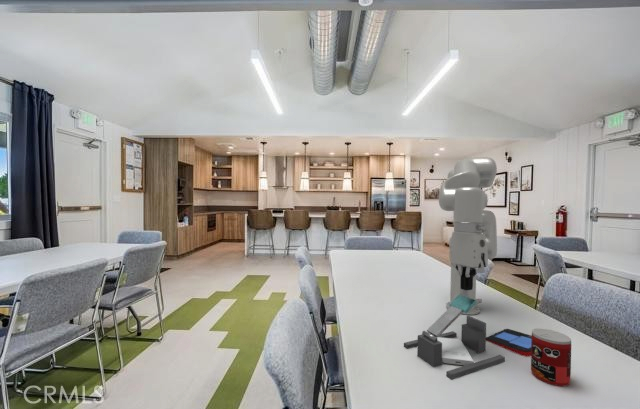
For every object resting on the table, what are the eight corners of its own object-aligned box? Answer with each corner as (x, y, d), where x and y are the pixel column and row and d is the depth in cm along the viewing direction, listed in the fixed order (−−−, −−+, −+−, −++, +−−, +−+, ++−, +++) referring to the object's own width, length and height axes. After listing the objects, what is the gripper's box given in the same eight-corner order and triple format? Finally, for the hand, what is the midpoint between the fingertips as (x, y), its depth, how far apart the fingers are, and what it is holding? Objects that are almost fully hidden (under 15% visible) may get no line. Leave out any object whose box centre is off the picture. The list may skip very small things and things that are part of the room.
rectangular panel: (460, 297, 89) (459, 294, 88) (476, 303, 84) (475, 299, 83) (421, 334, 82) (420, 331, 82) (436, 343, 77) (435, 340, 77)
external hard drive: (461, 344, 89) (474, 366, 77) (433, 341, 90) (442, 362, 78) (461, 339, 89) (474, 360, 77) (433, 336, 90) (442, 357, 78)
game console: (506, 331, 100) (506, 325, 100) (549, 347, 89) (550, 340, 89) (483, 341, 93) (483, 334, 93) (527, 360, 82) (528, 352, 82)
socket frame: (452, 334, 96) (453, 309, 96) (504, 361, 80) (505, 331, 80) (403, 346, 87) (404, 318, 87) (451, 379, 71) (451, 345, 71)
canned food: (523, 369, 76) (524, 328, 76) (551, 368, 77) (551, 327, 77) (548, 387, 69) (549, 342, 69) (579, 386, 69) (580, 341, 69)
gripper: (500, 230, 80) (499, 295, 80) (455, 226, 94) (454, 282, 94) (482, 230, 77) (481, 298, 77) (438, 226, 91) (437, 284, 91)
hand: (466, 289), depth 85 cm, fingers closed
